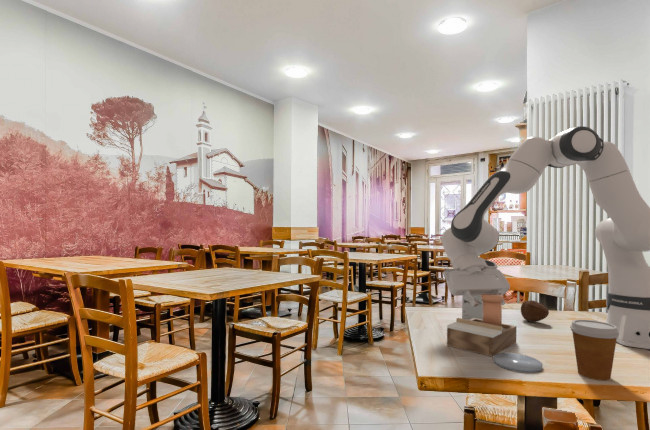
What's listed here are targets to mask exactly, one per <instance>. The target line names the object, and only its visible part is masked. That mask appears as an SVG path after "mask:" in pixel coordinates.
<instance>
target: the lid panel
mask: <svg viewBox="0 0 650 430" xmlns="http://www.w3.org/2000/svg"><path fill="white" fill-rule="evenodd" d="M446 328H450V329H455V330H460V331H464V332H469V333H473V334H478V335H482V336H487V337H492V338H493V337H495V336H497V335H499V334H501V333H502V326H497V325H492V324H487V323H482V322H477V321H471V320H466V319H462V317H457V318H456V321H455V322H452V323H448V324H447V326H446Z"/></svg>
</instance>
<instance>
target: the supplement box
mask: <svg viewBox="0 0 650 430" xmlns="http://www.w3.org/2000/svg"><path fill="white" fill-rule="evenodd" d="M471 296H472V297H473V298H474V299H477V301H478V303H479V304H478V305H477V306H475V307H472V306H471V304H470V302H468V301H467V300H466V299H465V298H464V297H463V295H461V297H462V301H461V302H462V305H461V310H462V312H461V319H466V320H470V319H472V318H476V319H482V320H483V301H482V300H481V295H471Z"/></svg>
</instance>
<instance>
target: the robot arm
mask: <svg viewBox="0 0 650 430" xmlns="http://www.w3.org/2000/svg"><path fill="white" fill-rule="evenodd" d="M574 165H578V166H579V167H580V168H581V169H582V170H583V171H584V174H585V177H586V180H587V182H588V184H589V189H590V190H591V193H592V196H593V198H594V200H595V203H596V204H597V206H598V207H599V208H601V209H602V210H603V211H604V212H605V213H606V214H607V216H608V217H609V218H605V219H603V220H601V221H600V222H599V223H598V224H597V225H596V227H595V230H594V231H595V232H594V233H595V234H594V235H595V237H596V240H597V241H598V243H599V244H600V245H601V247H602V250H603V253H604V254H603V255H604V257H605V260H606V265H607V273H608V276H607V277H608V292H607V293H606V299H605V301H606V302H605V303H606V305H605V306H606V309H607V315H606V320H605V323H609V324H612V325H614V326H616V327H617V330H618V332H619V335H618V337H617V339H616V343H617V344H619V345H622V346H626V347H632V348H639V349H645V350H650V265H649V264H648V262H647V261H646V259H645V256H644V252H650V206H649V205H648V204H647V202H646V201H645V200H644V198H643V197H642V195H641V193H640V192H639V190H638V188H637V186H636V184H635V181H634V179H633V176H632V174H631V172H630V169H629V166H628V164H627V162H626V159H625V158H624V156H623V155H622V153H621V151H620V149H619V148H618V147H617V145H616V144H614V143H613V142H610V141H604V139H602V138H601V137H600V136H599V134H598V133H597V132H596V131H595V130H594V129H593V128H590V127H589V126H583V125H581V126H574V127H570V128H568V129H567V130H563V131H561V132H559V133H557V134H556V135H555V136H553V137H551V138H549V139H545V138H543V137H539V136H530V137H527V138H525V139H524V140H523V141H522V142H521V143H520V144H519V145H518V147H517V148H516V149H515V150H514V151H513V153H512V154H511V155H510V157H509V159H508V160H507V162H506V163H505V164H504V166H503V167H502V168H501V169H499V170H498V171H495V172H494V173H492V174H491V175H490V176H489V177H488V178H487V180H485V182H484V183H483V184H482V186H481V187H480V188H479V189H478V191H477V192H476V193H475V194H474V195H473V196H472V198H471V199H470V200H469V201H468V203H467V204H466V205H465V206H464V207H463V208H461V209H460V210H459V211H458V212H457V213H456V214H455V215H454V216H453V218H452V220H451V223H450V227H449V228H447V229H446V230H445V231H444V232H443V234H442V236H441V244H442V247H443V249H444V253H445V254H446V256H447V258H448V260H450V261H451V266H452V268H446V269H444V270H443V273H442V274H443V277H444V279H445V282H446V286H447V288H448V290H449V293H450V294H451V295H452V296H454V297H455V296H456V297H457V296H459V297H460V296H461V297H462V296H463V297H464V298H465V299H466V300H467V301H468V302H470V304H471V306H472V307H475V306H477V305H478V304H479V303H478V301H477V299H474V298H473V297H472V296H471V295H481V294H497V295H502V296H503V297H504V295H505V294H506V293H508V292H509V291H510V287H511V285H510V282H509V281H508V280H507V278H506V276H505V275H504V274H503V271H501V270H500V269H498V264H497V263H496V262H495V261H491V260H487V259H484V258H482V257H479V256H481V255H484V254H486V253H489V252H490V251H491V250H493V249H495V248H496V246H497V245H498V244H499V239H500V234H499V231H498V229H497V228H496V227H494V226H493V225H492V224H491V223H490V222H488V221H487V220H485V215H486V213H487V212H488V210H489V209H490V208H491V207H492V206H493V205H494V203H495V202H496V201H497V200H498V199H499V197H500V196H502V195H503V194H513V195H519V194H524V193H527V192H529V191H531V189H533V187H534V186H535V185H536V184H537V183H538V180H539V179H540V177H541V176H542V175H543V173H544V171H545V169H546V168H547V167H550V168H556V169H561V168H565V167H570V166H574ZM505 304H506V301H505V299H504V298H503V302H502V306H505Z"/></svg>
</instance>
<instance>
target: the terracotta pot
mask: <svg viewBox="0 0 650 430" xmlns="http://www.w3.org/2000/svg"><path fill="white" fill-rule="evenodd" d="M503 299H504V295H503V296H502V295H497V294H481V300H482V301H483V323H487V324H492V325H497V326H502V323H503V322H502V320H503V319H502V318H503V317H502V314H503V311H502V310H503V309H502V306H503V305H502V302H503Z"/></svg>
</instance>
